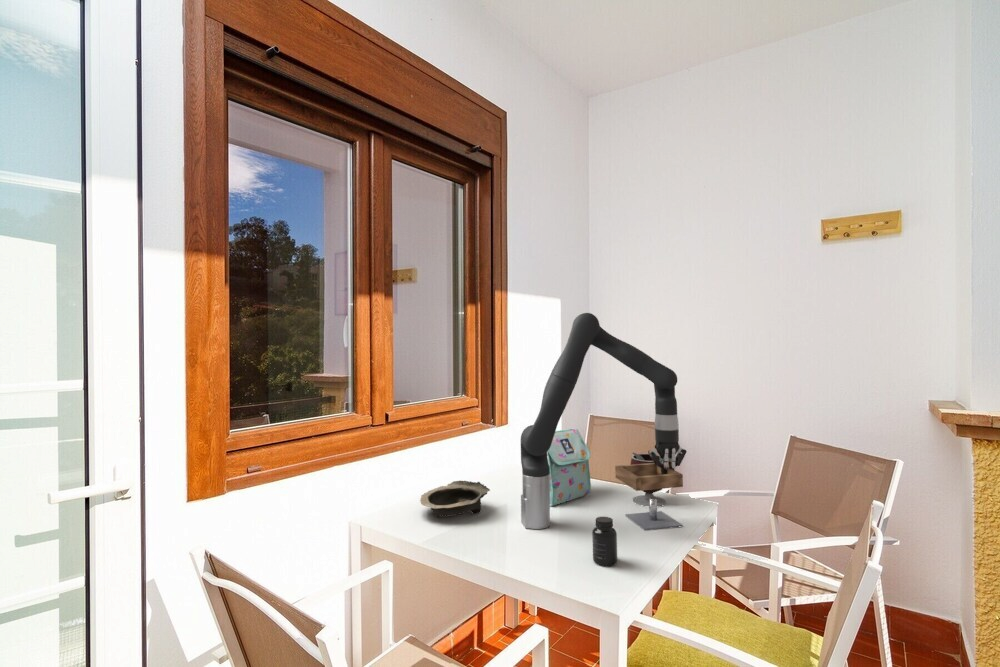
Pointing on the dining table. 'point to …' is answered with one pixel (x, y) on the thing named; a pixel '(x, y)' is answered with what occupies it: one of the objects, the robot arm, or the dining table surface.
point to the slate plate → (648, 524)
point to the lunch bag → (568, 466)
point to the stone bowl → (455, 498)
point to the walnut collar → (648, 477)
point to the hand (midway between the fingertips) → (668, 478)
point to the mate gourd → (649, 493)
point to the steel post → (653, 509)
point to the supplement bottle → (604, 542)
